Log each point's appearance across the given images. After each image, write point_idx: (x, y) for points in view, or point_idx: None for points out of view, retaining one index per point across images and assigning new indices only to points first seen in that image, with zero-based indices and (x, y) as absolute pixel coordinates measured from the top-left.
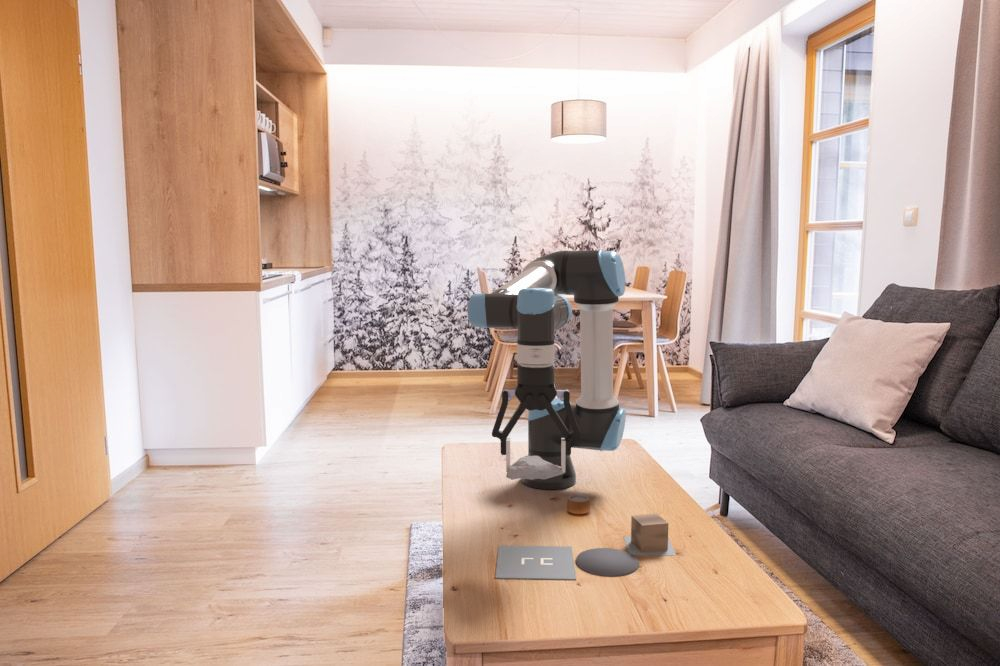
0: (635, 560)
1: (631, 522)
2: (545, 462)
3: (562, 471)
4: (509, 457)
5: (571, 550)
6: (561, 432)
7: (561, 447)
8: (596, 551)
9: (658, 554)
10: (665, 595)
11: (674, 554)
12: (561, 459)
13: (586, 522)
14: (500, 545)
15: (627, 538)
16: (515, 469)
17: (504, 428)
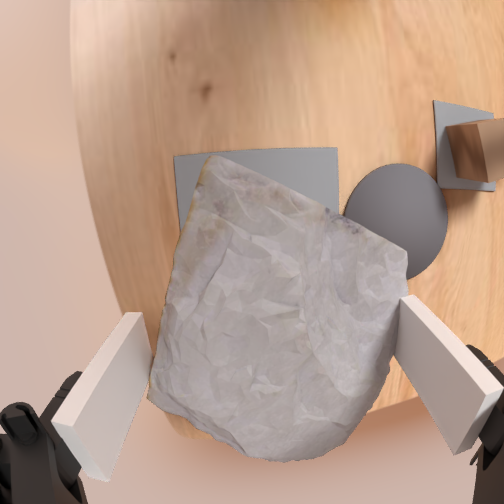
0: (443, 221)
1: (468, 125)
2: (329, 406)
3: (394, 352)
4: (134, 409)
5: (336, 169)
6: (474, 493)
7: (448, 387)
8: (386, 182)
9: (476, 186)
10: (447, 324)
11: (493, 186)
12: (416, 353)
13: (362, 18)
14: (177, 156)
15: (440, 110)
16: (184, 417)
17: (16, 479)
